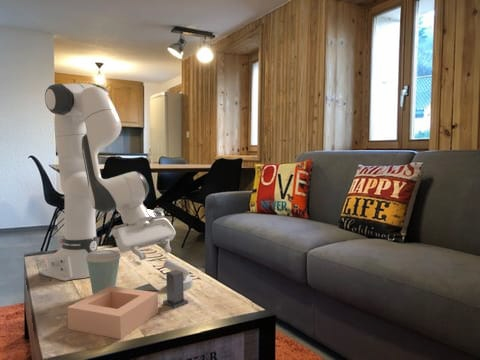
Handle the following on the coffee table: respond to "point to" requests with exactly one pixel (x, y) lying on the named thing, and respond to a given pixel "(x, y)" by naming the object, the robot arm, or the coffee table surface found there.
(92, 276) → the disposable coffee cup
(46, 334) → the coffee table surface
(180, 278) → the grey pillar on base
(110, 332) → the box
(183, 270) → the wall hook
